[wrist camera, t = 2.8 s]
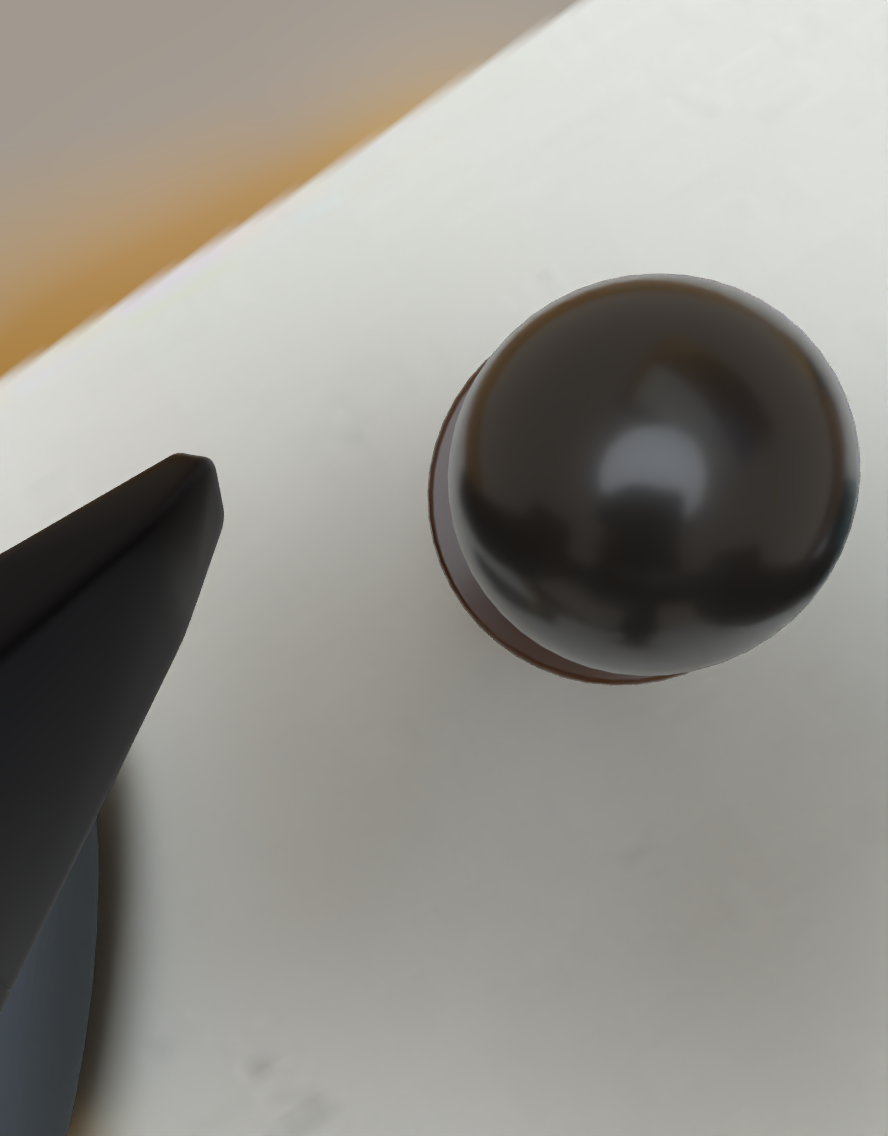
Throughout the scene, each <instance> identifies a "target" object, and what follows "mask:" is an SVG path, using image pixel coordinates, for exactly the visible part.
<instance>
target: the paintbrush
mask: <svg viewBox="0 0 888 1136" xmlns="http://www.w3.org/2000/svg"><path fill="white" fill-rule="evenodd" d="M98 885H99V865H98V834H97V819H95V821H94V823H93V825H92V827H91V829H90V831H89V833H88V835H87V837H86V839H85V841H84V843H83V846H82V848H81V850H80V852H79V854H78V856H77V858H76V860H75V862H74V864H73V866H72V868H71V870H70V872H69V874H68V876H67V878H66V880H65V882H64V884H63V886H62V888H61V890H60V893H59V895H58V897H57V899H56V901H55V903H54V905H53V907H52V909H51V911H50V913H49V915H48V917H47V919H46V921H45V923H44V925H43V927H42V929H41V931H40V933H39V935H38V937H37V939H36V942H35V944H34V946H33V948H32V950H31V952H30V954H29V956H28V958H27V960H26V962H25V964H24V966H23V968H22V970H21V972H20V974H19V976H18V978H17V980H16V982H15V984H14V986H13V988H12V989H9V990H10V996H9V998H8V1000H7V1002H6V1004H5V1006H4V1008H3V1010H2V1012H1V1014H0V1136H67V1135H68V1130H69V1126H70V1121H71V1116H72V1112H73V1107H74V1102H75V1098H76V1093H77V1087H78V1081H79V1075H80V1070H81V1064H82V1058H83V1053H84V1047H85V1041H86V1033H87V1025H88V1018H89V1010H90V1002H91V995H92V987H93V975H94V962H95V950H96V937H97V921H98Z"/></svg>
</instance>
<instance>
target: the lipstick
mask: <svg viewBox="0 0 888 1136" xmlns="http://www.w3.org/2000/svg"><path fill="white" fill-rule="evenodd" d="M859 482H860V456H859V444H858V439H857V433H856V427H855V422H854V419H853V416H852V413H851V409H850V406H849V403H848V400H847V397H846V395H845V393H844V391H843V389H842V387H841V385H840V383H839V380H838V378H837V376H836V374H835V372H834V371H833V369H832V368H831V366H830V365H829V363H828V362H827V360H826V359H825V357H824V356H823V354H822V353H821V351H820V350H819V349H818V348H817V347H816V346H815V344H814V343H813V342H812V341H811V340H810V339H809V338H808V336H807V335H806V334H805V333H804V332H803V331H802V330H801V329H800V328H799V327H797V326H796V325H795V324H794V323H793V322H792V321H790V320H789V319H788V318H787V317H786V316H785V315H784V314H782V313H781V312H779V311H778V310H776V309H775V308H773V307H771V306H770V305H768V304H767V303H765V302H764V301H762V300H761V299H759V298H757V297H755V296H752V295H750V294H748V293H746V292H744V291H742V290H740V289H738V288H735V287H732V286H729V285H726V284H723V283H720V282H717V281H714V280H710V279H704V278H699V277H694V276H688V275H676V274H643V275H630V276H624V277H619V278H614V279H609V280H605V281H601V282H598V283H595V284H592V285H589V286H586V287H583V288H580V289H578V290H575V291H573V292H571V293H569V294H567V295H565V296H563V297H561V298H559V299H557V300H555V301H553V302H552V303H550V304H549V305H547V306H546V307H544V308H543V309H541V310H540V311H538V312H537V313H535V314H533V315H532V316H531V317H529V318H528V319H527V320H526V321H525V322H524V323H523V324H521V325H520V326H519V327H518V328H517V329H516V330H514V331H513V332H512V333H511V334H510V335H509V336H508V337H507V338H506V339H505V341H504V342H503V343H502V344H501V345H500V346H499V347H498V348H497V349H496V351H495V352H494V353H493V354H492V355H491V356H490V357H489V358H488V359H487V360H486V361H485V362H484V363H483V364H482V365H481V366H480V367H479V368H478V369H477V371H476V372H475V373H474V374H473V375H472V376H471V377H470V378H469V380H468V381H467V382H466V384H465V385H464V387H463V388H462V390H461V391H460V393H459V394H458V396H457V397H456V398H455V400H454V402H453V404H452V406H451V408H450V410H449V412H448V414H447V416H446V417H445V419H444V421H443V424H442V427H441V430H440V432H439V435H438V438H437V441H436V443H435V447H434V452H433V456H432V461H431V465H430V472H429V483H428V512H429V522H430V528H431V533H432V539H433V543H434V546H435V550H436V553H437V556H438V559H439V562H440V565H441V567H442V570H443V572H444V574H445V576H446V578H447V580H448V582H449V585H450V587H451V588H452V590H453V591H454V593H455V595H456V596H457V598H458V599H459V601H460V603H461V604H462V606H463V607H464V608H465V610H466V611H467V612H468V613H469V614H470V616H471V617H472V618H473V619H474V620H475V622H476V623H477V624H478V625H479V626H480V627H481V628H482V629H483V630H484V631H485V632H486V633H487V634H488V635H489V636H490V637H492V638H493V639H494V640H495V641H496V642H497V643H498V644H500V645H501V646H503V647H504V648H505V649H507V650H508V651H510V652H511V653H512V654H514V655H515V656H517V657H518V658H520V659H522V660H524V661H526V662H528V663H530V664H531V665H533V666H535V667H537V668H539V669H542V670H544V671H547V672H550V673H552V674H555V675H558V676H560V677H563V678H568V679H572V680H576V681H581V682H585V683H592V684H602V685H639V684H645V683H651V682H658V681H663V680H666V679H670V678H673V677H677V676H680V675H684V674H687V673H689V672H691V671H695V670H699V669H702V668H705V667H709V666H712V665H716V664H719V663H722V662H725V661H727V660H729V659H732V658H734V657H736V656H738V655H741V654H743V653H745V652H748V651H749V650H751V649H753V648H754V647H756V646H758V645H759V644H761V643H763V642H764V641H766V640H768V639H769V638H771V637H772V636H773V635H775V634H776V633H777V632H778V631H780V630H781V629H782V628H783V627H785V626H786V625H787V624H789V623H790V622H791V621H792V620H793V619H794V618H795V617H796V616H797V615H798V614H799V613H800V612H801V611H802V610H803V609H804V608H805V607H806V606H807V605H808V604H809V603H810V602H811V600H812V599H813V598H814V596H815V595H816V594H817V592H818V591H819V590H820V588H821V587H822V586H823V584H824V583H825V581H826V580H827V579H828V577H829V575H830V573H831V571H832V569H833V568H834V566H835V564H836V562H837V560H838V559H839V557H840V555H841V553H842V550H843V548H844V545H845V542H846V540H847V537H848V535H849V532H850V529H851V527H852V522H853V518H854V514H855V510H856V506H857V502H858V492H859Z"/></svg>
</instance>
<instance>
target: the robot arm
mask: <svg viewBox="0 0 888 1136" xmlns="http://www.w3.org/2000/svg"><path fill="white" fill-rule="evenodd" d="M223 521H224V509H223V503H222V498H221V493H220V488H219V483H218V478H217V472H216V468H215V465H214V463H213V462H212V461H211V460H210V459H209V458H207V457H202V456H196V455H190V454H185V453H176V454H173V455H171V456H169V457H167V458H166V459H164V460H162V461H161V462H159V463H157V464H155V465H154V466H152V467H150V468H148V469H147V470H145V471H143V472H142V473H140V474H138V475H136V476H135V477H133V478H131V479H129V480H128V481H126V482H124V483H123V484H121V485H119V486H117V487H116V488H114V489H112V490H110V491H109V492H107V493H105V494H104V495H102V496H100V497H98V498H97V499H95V500H93V501H91V502H90V503H88V504H86V505H85V506H83V507H81V508H79V509H78V510H76V511H74V512H72V513H71V514H69V515H67V516H66V517H64V518H62V519H60V520H59V521H57V522H55V523H53V524H52V525H50V526H48V527H47V528H45V529H43V530H41V531H40V532H38V533H36V534H34V535H33V536H31V537H29V538H28V539H26V540H24V541H22V542H21V543H19V544H17V545H15V546H14V547H12V548H10V549H9V550H7V551H5V552H3V553H2V554H0V1014H1V1012H2V1010H3V1008H4V1006H5V1004H6V1002H7V1000H8V998H9V996H10V990H9V989H12V988H13V986H14V984H15V982H16V980H17V978H18V976H19V974H20V972H21V970H22V968H23V966H24V964H25V962H26V960H27V958H28V956H29V954H30V952H31V950H32V948H33V946H34V944H35V942H36V939H37V937H38V935H39V933H40V931H41V929H42V927H43V925H44V923H45V921H46V919H47V917H48V915H49V913H50V911H51V909H52V907H53V905H54V903H55V901H56V899H57V897H58V895H59V893H60V890H61V888H62V886H63V884H64V882H65V880H66V878H67V876H68V874H69V872H70V870H71V868H72V866H73V864H74V862H75V860H76V858H77V856H78V854H79V852H80V850H81V848H82V846H83V843H84V841H85V839H86V837H87V835H88V833H89V831H90V829H91V827H92V825H93V823H94V821H95V819H96V817H97V815H98V813H99V811H100V809H101V807H102V805H103V803H104V801H105V799H106V796H107V794H108V792H109V790H110V788H111V786H112V784H113V782H114V780H115V778H116V776H117V774H118V772H119V770H120V768H121V766H122V764H123V762H124V760H125V758H126V756H127V754H128V752H129V750H130V747H131V745H132V743H133V741H134V739H135V737H136V735H137V733H138V731H139V729H140V727H141V725H142V723H143V721H144V719H145V717H146V715H147V713H148V711H149V709H150V707H151V705H152V703H153V700H154V698H155V696H156V694H157V692H158V690H159V688H160V686H161V684H162V682H163V680H164V678H165V676H166V674H167V672H168V670H169V668H170V666H171V664H172V662H173V660H174V658H175V656H176V653H177V651H178V649H179V647H180V645H181V642H182V640H183V638H184V636H185V633H186V630H187V628H188V625H189V622H190V620H191V617H192V614H193V611H194V608H195V605H196V603H197V600H198V597H199V594H200V591H201V588H202V585H203V582H204V579H205V577H206V574H207V571H208V568H209V565H210V562H211V559H212V556H213V553H214V551H215V548H216V545H217V542H218V539H219V536H220V533H221V530H222V526H223Z"/></svg>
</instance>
